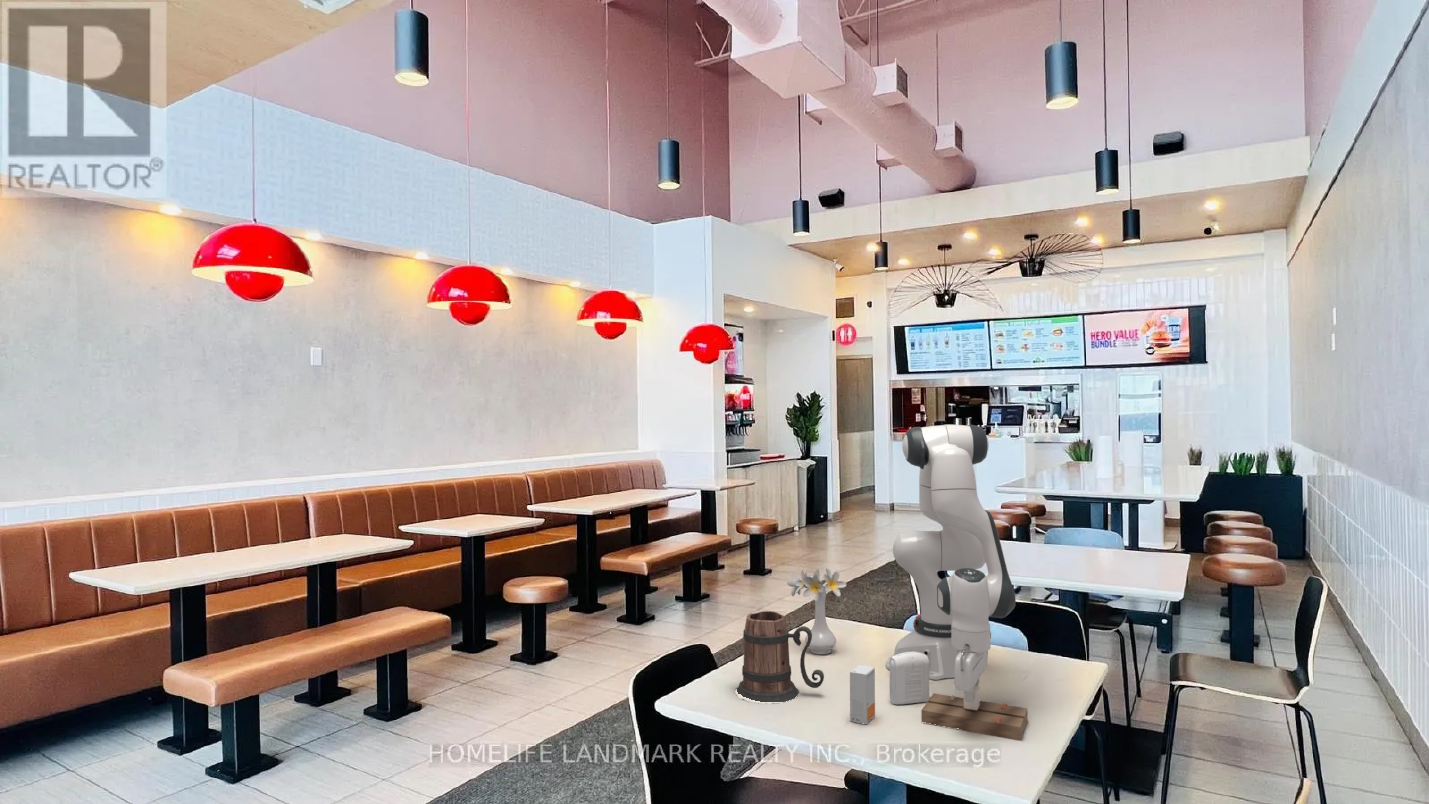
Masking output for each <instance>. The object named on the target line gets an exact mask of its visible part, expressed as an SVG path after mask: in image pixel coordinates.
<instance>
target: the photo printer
mask: <svg viewBox="0 0 1429 804" xmlns="http://www.w3.org/2000/svg"><path fill="white" fill-rule="evenodd" d="M890 657H891V656H890ZM889 666H890V667H889V669H890V670H889V669H888V670H889V701H890V703H891V704H893V705H906V704H907V705H908V704H915V703H925V702H926V703H927V702H928V700H929V699H930V679H929V660H928V657H927V655H925V654H922V653H918V652H905V653H900V654H897V655H895V656H893V657H891V658H890V663H889Z"/></svg>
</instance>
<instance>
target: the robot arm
mask: <svg viewBox="0 0 1429 804" xmlns="http://www.w3.org/2000/svg"><path fill="white" fill-rule="evenodd" d="M903 437H904V438H903V440H902V445H901V446H902V452H903V456H904V458H905V460H906V461H907V462H908V463H909V464H910V465H911V466H914V467H919V475H918V476H919V477H918V479H919V480H918V482H919V483H918V489H919V490H918V491H919V493H918V494H919V497H918V498H919V499H918V501H919V502H918V503H919V509H920V512H921V513H922V515H923V516H925V517H926V518H928V519H930V520H932V521H934V522H936V523H938V524H940V525H941V526H942V530H913V531H907V532H902V533H899V535H897V536H896V538H895V540H894V542H893V544H892V545H893V546H892V554H893V558H894V560H895V561H896V563H897V564H898V565H899V566H900V568H902V569H903V570H905V572H907V573H908V574H909V575H910V577H912V579H913V581H914V582H915V584H916V587H917V590H918V594H919V595H918V596H919V603H920V614H917V616H916V617H915V619H914V620H913V622H912V627H913V629H914V630H912V631H911V632H909V633H908V634H906V635H904V636H903V637H902V638H901V639H900V640H898V642H897V643H896V645H895V647H894V652H893V654H892V655H891V656H890V657H888V658H887V660H886V661H885V668H886V669H887V670H890V669H889V667H890V666H889V663H890V658H891V657H893V656H895V655H897V654H900V653H905V652H918V653H922V654H925V655H927V657H928V660H929V680H936V681H938V680H942V679H943V680H944V679H950V678H951V679H954V688H955V690H957V691H960V692H963V694H964V693H965V701H966V702H970V703H972V702H973V701H974V693H973V688H974V686H979V684H980V679H981V678H980V677H981V676H982V674H983V673H984V671H985V669H986V668H987V666H988V660H989V650H990V649H991V648H992V647H991V645H992V643H991V641H992V640H991V639H992V632H991V624H990V620H989V618H998V619H1003V618H1006V617H1007V616H1008V615H1009V614H1010V613H1011V612H1013V610H1014V609H1015V607H1016V600H1017V599H1016V598H1017V597H1016V592H1015V590H1014V586H1013V584H1012V581H1011V578H1010V575H1009V572H1008V567H1007V563H1006V559H1005V555H1004V553H1003V552H1004V551H1003V548H1002V543H1001V539H1000V535H999V532H998V529H997V526H996V522H995V519H994V517H993V515H992V514H991V512H990V511H988V510H986V509H985V508H984V507H983V505H982V503H981V501H980V499H979V497H978V490H977V482H976V475H975V469H974V465H977V464H979V463H982V462H983V461H985V459H986V458H987V456H988V451H989V446H990V445H989V438H988V435H987V433H986V431H985V429H983V427H981V426H979V425H974V424H968V425H963V424H943V425H941V424H940V425H930V426H923V427H921V426H916V427H911V428H909V429H908V430H907V431H905V434H904V436H903ZM985 565H986V569H987V572H988V574H985V573H984V572H982V571H981V570H979V569H982V568H983V567H984V566H985ZM941 571H946V572H948V571H952V572H953V573H952V575H951V576H947V577H943V578H940V577H939V575H938V572H941Z"/></svg>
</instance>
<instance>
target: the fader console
mask: <svg viewBox="0 0 1429 804" xmlns="http://www.w3.org/2000/svg"><path fill="white" fill-rule="evenodd" d="M920 712H921V713H920V714H921V717H920V718H921V723H922V722H926V723H931V724H936V725H935V726H937V725H940V726H939V727H942V726H945V727H944V728H948V727H950V728H949V729H953V728H959V729H962V730H961V731H964V730H966V731H965V732H970V733H971V732H972V733H976V734H982V735H986V736H987V735H988V736H992V737H993V736H994V737H1000V738H1005V739H1010V740H1015V741H1022V738H1023V735H1024V733H1025V730H1026V726H1027V724H1028V719H1029V717H1028V716H1029V715H1028V713H1029V712H1028V708H1026V707H1022V706H1015V705H1010V704H1006V703H997V702H992V701H991V702H990V701H985V700H980V706H979V708H978V710H977V711H976V710H970V709H966V708H964V697H961V696H959V697H958V696H956V695H946V694H940V693H932V695H931V696H929V700H928V701H927V702H926V703H925V705H924V706H923V707H922V709H921V711H920ZM931 724H930V725H931ZM959 729H958V730H959Z"/></svg>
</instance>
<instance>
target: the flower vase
mask: <svg viewBox="0 0 1429 804" xmlns="http://www.w3.org/2000/svg"><path fill="white" fill-rule="evenodd" d="M790 576H791V578H792V579H788V580H787V581H786V584H787V585H788V587H792V589H791V593H790V595H791V597H795V595H796V594H797V595H801V594H802V596H803V597H809V596H811V595H812V599H813V600H814V621H813V625H812V628H811V629H810V630H811V632H812V640H811V643H810V645H809V647H808V648H809V649H810V652H811V653H812V654H813V655H822V656H823V655H829V654H831V652H832V649H833V648H835V646H836V644H837V639H836V636H835V634H834V633H833V632H832V631H831V630H830V628H829V626H828V624H827V617H826V596H827V593H829V592H831V591H832V592H833V593H834V594H835V595H836V597H838V598H839V597H841V595H842V594H841V590H840V589H843V588H845V587H847V583H846V582H845V581H842V580H839V578H840V573H839V572H838V571H837V570H836V571H834V572H833V573H832V572H831V570H830V569H829V568H828V567H826V569H825V573H823V574H820V569H818V568H817V569H815V570H814V572H813V575H807V572H804V570H801V572H800V578H799V577H797V576H796V575H795V573H794V572H792V571H791V572H790ZM824 585H825V586H824ZM804 588H805V589H804ZM802 589H804V591H803V593H801V590H802ZM807 641H808V635H807V634H806V636H805V640H804V642H805V644H806V643H807Z"/></svg>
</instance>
